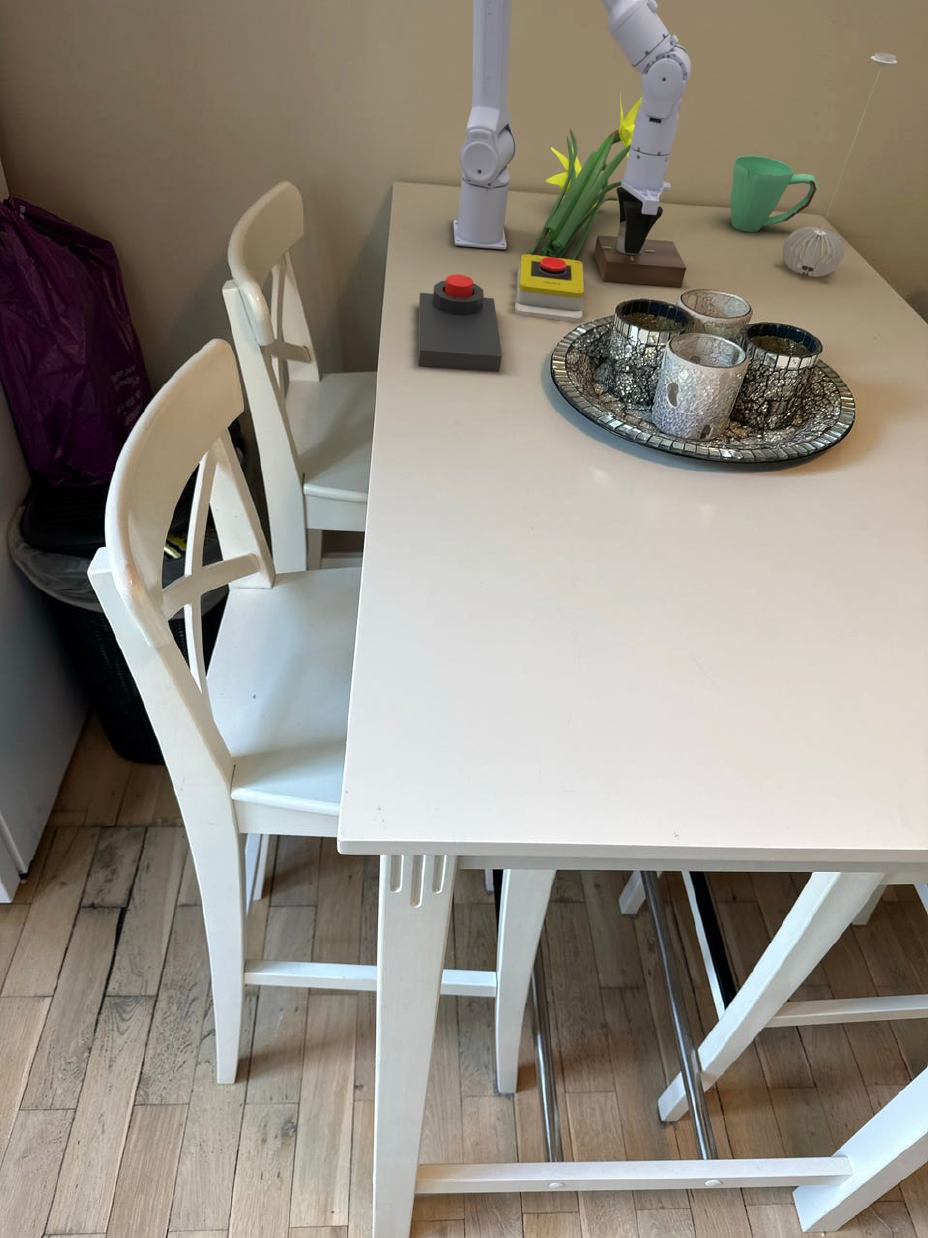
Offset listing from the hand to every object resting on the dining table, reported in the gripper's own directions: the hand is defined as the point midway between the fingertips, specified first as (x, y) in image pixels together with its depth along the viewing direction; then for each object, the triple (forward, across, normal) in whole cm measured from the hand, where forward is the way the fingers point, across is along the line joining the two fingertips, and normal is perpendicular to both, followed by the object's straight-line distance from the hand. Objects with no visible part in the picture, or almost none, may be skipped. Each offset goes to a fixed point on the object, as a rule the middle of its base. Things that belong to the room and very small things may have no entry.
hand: (628, 246), depth 133 cm
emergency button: (+4, -12, +13) cm, 18 cm away
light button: (0, -21, +26) cm, 34 cm away
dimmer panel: (+3, 0, -2) cm, 4 cm away
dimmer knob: (0, 0, 0) cm, 0 cm away
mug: (+4, +22, -28) cm, 36 cm away
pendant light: (+4, +6, -31) cm, 32 cm away
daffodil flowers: (+4, +14, +5) cm, 15 cm away
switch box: (+3, -26, +26) cm, 38 cm away
